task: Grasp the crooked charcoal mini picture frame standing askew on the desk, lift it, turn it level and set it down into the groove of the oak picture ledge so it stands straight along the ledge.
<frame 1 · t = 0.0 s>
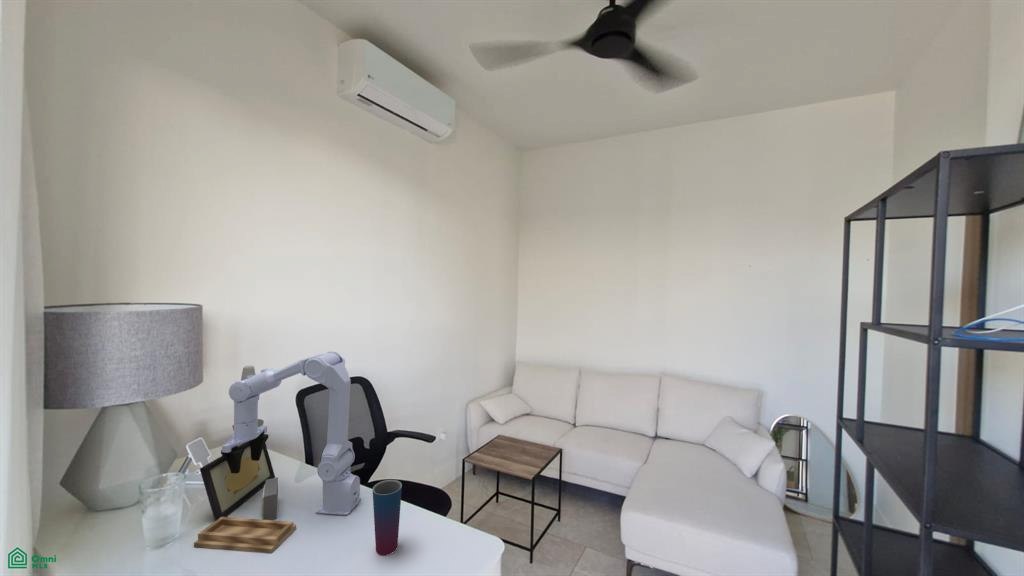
hand: (245, 466, 111), 10 cm above the table, fingers open, 7 cm apart
picture ledge: (247, 537, 95), on the table
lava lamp: (248, 467, 131), on the table
picture frame: (235, 498, 113), on the table
cup: (386, 548, 92), on the table
mini frame: (270, 511, 106), on the table
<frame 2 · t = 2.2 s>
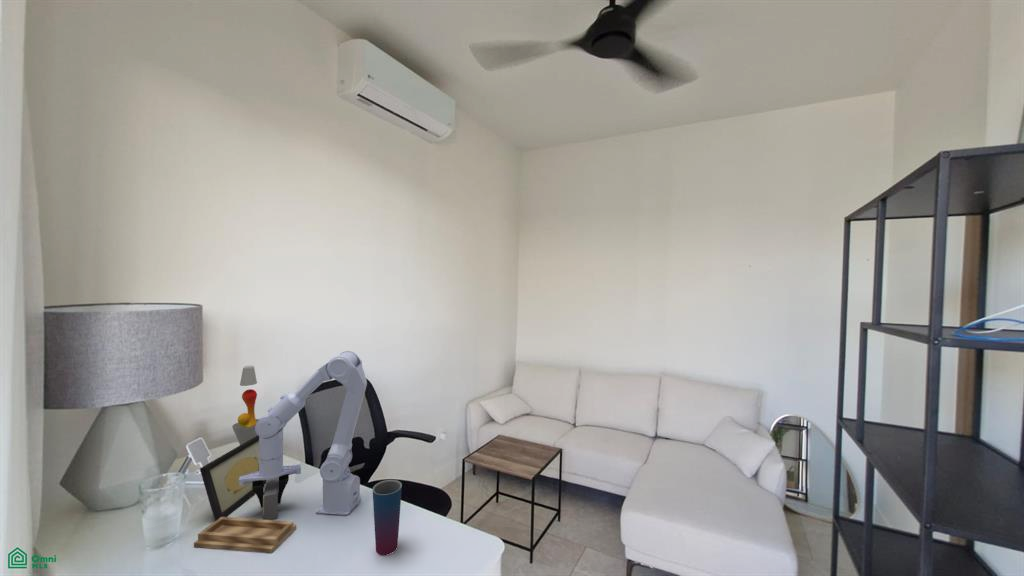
hand: (270, 504, 106), 2 cm above the table, fingers closed on mini frame, 3 cm apart
mini frame: (271, 510, 106), on the table, touching gripper
everything else where it was.
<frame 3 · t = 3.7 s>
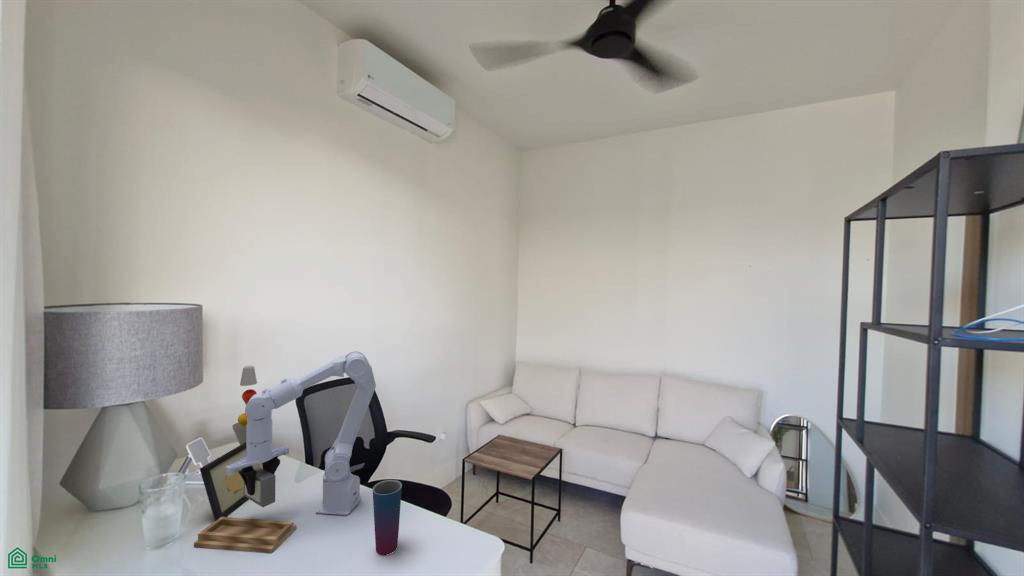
hand: (259, 490, 100), 9 cm above the table, fingers closed on mini frame, 3 cm apart
mini frame: (259, 498, 101), point 7 cm above the table, touching gripper
everything else where it was.
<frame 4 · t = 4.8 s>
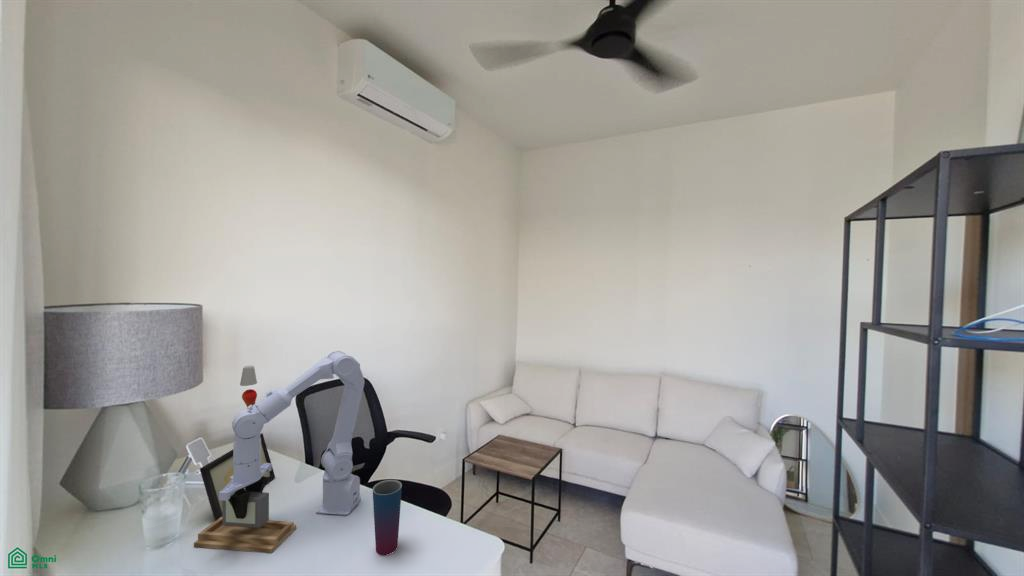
hand: (247, 512, 95), 6 cm above the table, fingers closed on mini frame, 3 cm apart
mini frame: (245, 522, 95), point 4 cm above the table, touching gripper
everything else where it was.
when the fingers open (4 cm above the table, at t = 5.6 s): mini frame stays where it is, resting on picture ledge.
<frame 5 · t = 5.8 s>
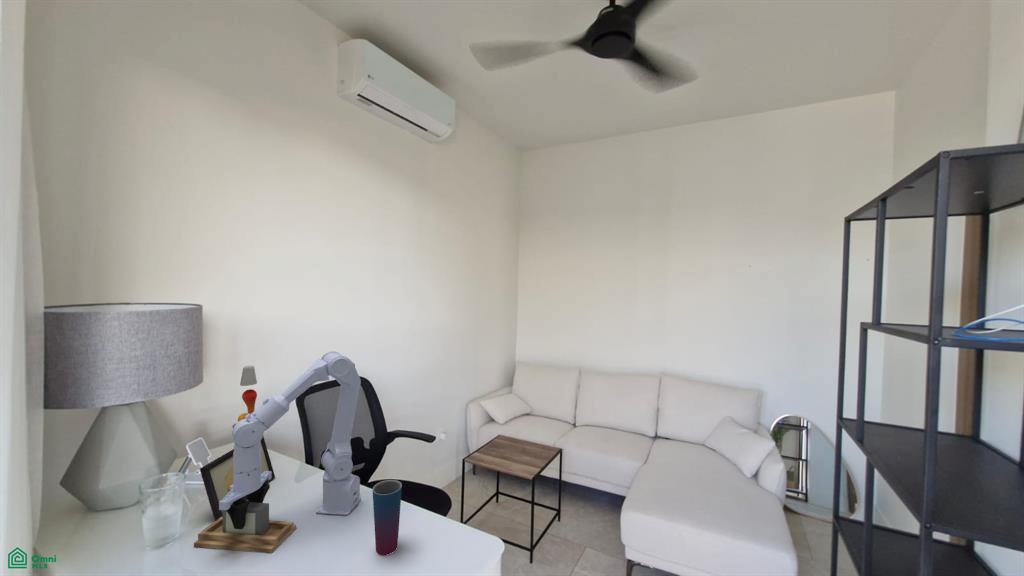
hand: (247, 521, 95), 4 cm above the table, fingers open, 4 cm apart
mini frame: (245, 533, 95), point 1 cm above the table, touching picture ledge
everything else where it was.
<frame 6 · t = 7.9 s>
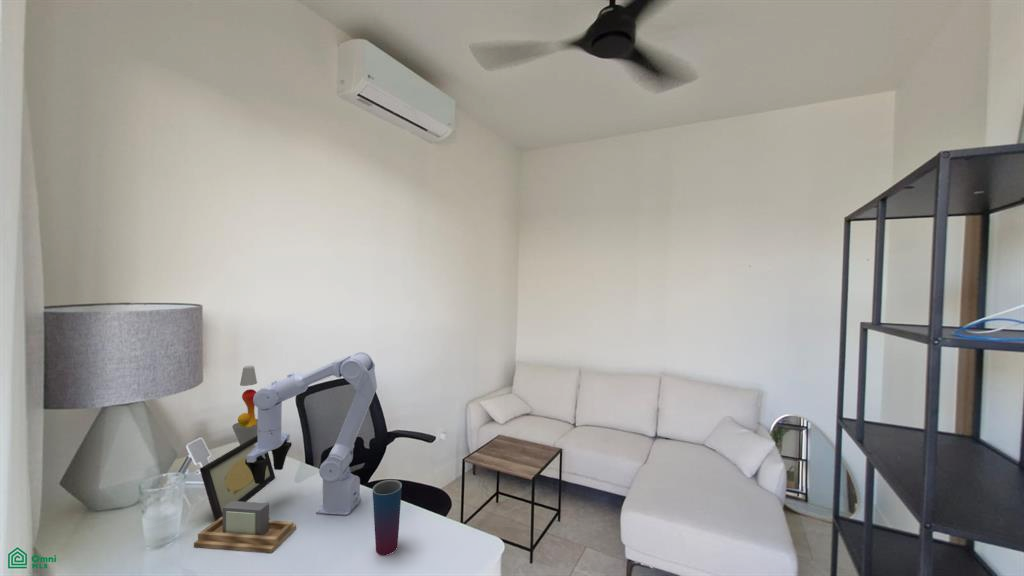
hand: (269, 475, 107), 9 cm above the table, fingers open, 7 cm apart
nothing on the table moved.
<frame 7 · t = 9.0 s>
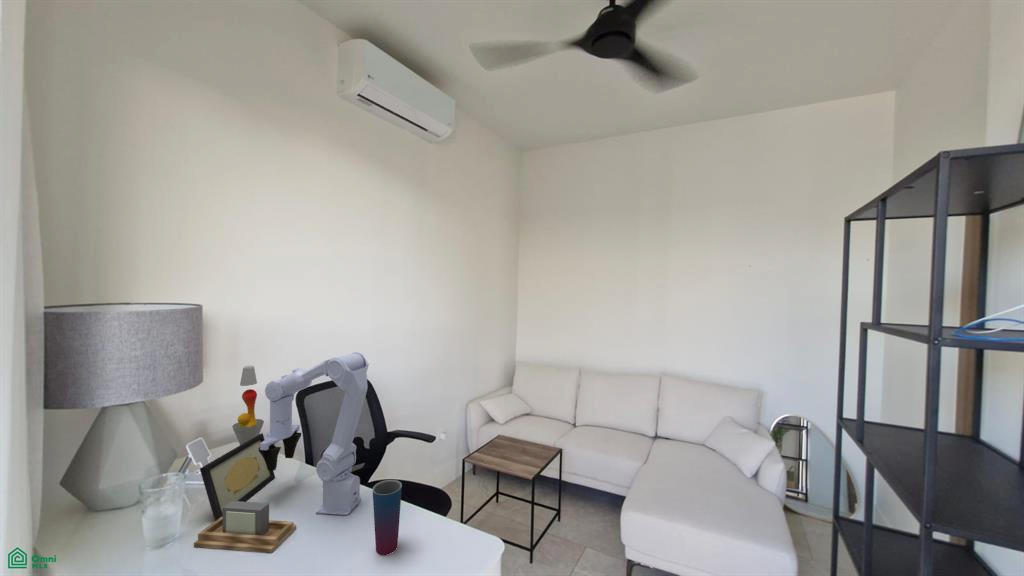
hand: (280, 463, 114), 9 cm above the table, fingers open, 7 cm apart
nothing on the table moved.
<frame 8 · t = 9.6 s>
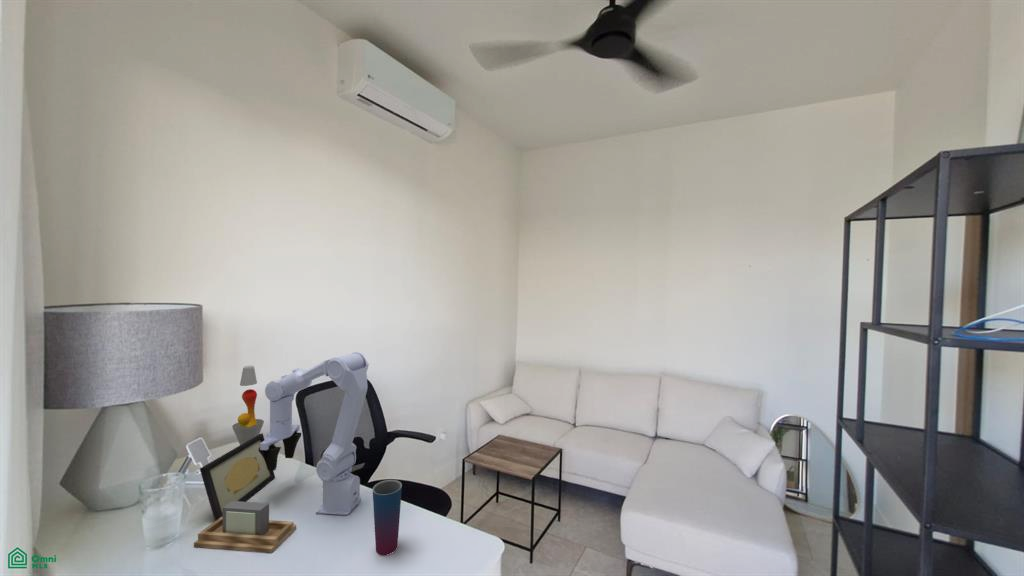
hand: (280, 463, 114), 9 cm above the table, fingers open, 7 cm apart
nothing on the table moved.
at the end: mini frame inside the target area on the picture ledge (0.4 cm from its centre), point 1.0 cm above the picture ledge's base; mini frame tilted 0°; the gripper is holding nothing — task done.
